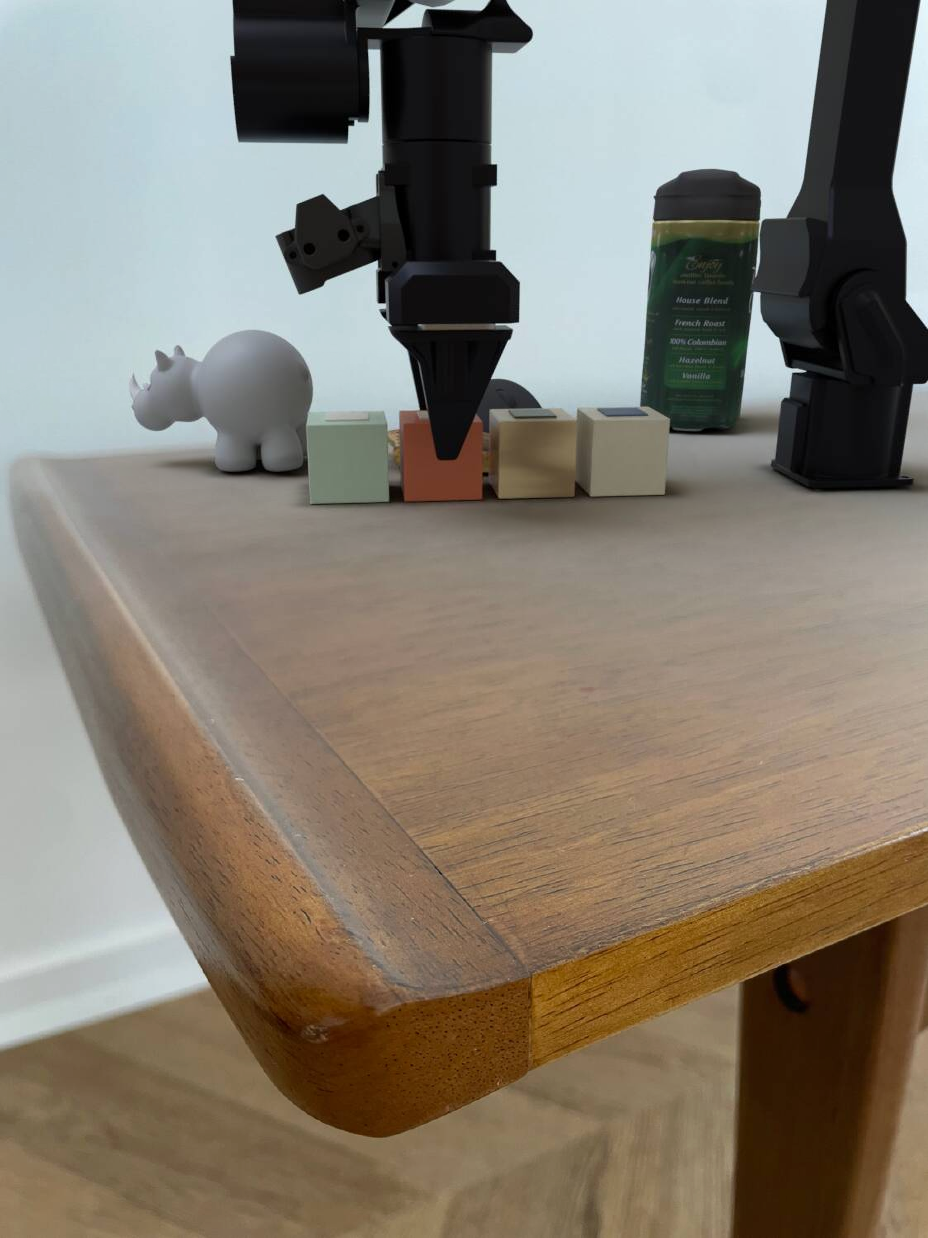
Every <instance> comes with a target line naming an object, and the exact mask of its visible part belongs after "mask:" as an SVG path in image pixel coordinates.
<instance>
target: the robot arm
mask: <svg viewBox="0 0 928 1238" xmlns="http://www.w3.org/2000/svg"><path fill="white" fill-rule="evenodd" d="M454 1H456V0H232V2H231V3H232V33H233V35H232V36H233V53H234V55H230V56H229V58H230V59H229V61H230V76H231V88H232V90H231V91H232V100H233V110H234V121H235V130H236V138H237V142H238V143H247V144H248V143H249V144H250V143H251V144H252V143H254V144H255V143H256V144H257V143H260V144H325V145H327V144H328V145H329V144H331V145H333V144H334V145H348V143H349V131H350V130H349V129H350V127H355V122H356V121H357V123H361V124H363V123H365V124H366V123H369V120H370V110H371V109H370V108H371V107H370V106H371V105H370V104H371V99H370V98H371V89H370V87H371V85H370V84H371V83H370V57H369V50H371V51H372V50H373V51H374V50H375V51H376V50H377V51H379V63H380V71H379V72H380V102H381V103H380V104H381V105H380V107H381V109H380V110H381V111H380V113H381V143H382V144H381V152H382V153H381V156H382V159H381V160H382V166H381V168H380V169H378V171H377V173H375V196H373V197H371V198H368V199H366V200H362V201H360V202H358V203H354V204H351V205H349V206H347V207H345V208H342V209H340V208H339V207H338V206H337V205H336V204H335V203H334V202H332V201H331V199H329V197H328V196H326V194H324V193H321V194H319V195H316V196H314V197H311V198H308V199H306V200H303V201H301V202H298V203H296V205H295V207H296V208H295V219H294V227H293V228H291V229H288V230H285V231H283V232H280V233H278V234H276V235H275V236H274V237H275V239H276V242H277V245H278V247H279V250H280V252H281V254H282V257H283V259H284V262H285V264H286V266H287V270H288V271H289V274H290V276H291V279H292V282H293V284H294V286H295V288H296V291H297V294H298V295H299V296H301V295H304V294H307V293H310V292H312V291H315V290H317V289H320V288H322V287H324V286H325V283H326V282H327V281H329V280H332V279H335V278H337V277H339V276H342V275H345V274H347V273H351V272H353V271H355V270H358V269H360V268H363V267H366V266H368V265H370V264H372V263H375V262H377V269H376V270H375V291H376V293H375V294H376V303H377V304H379V305H383V304H384V305H385V308H379V309H378V311H379V313H380V316H381V317H382V318H383V319H384V320H385V321H387V323H388V324H389V325H388V326H387V329H388V331H389V332H390V334H391V337H393V338H394V339H395V340H396V341H397V342H398V343H399V344H400V345H401V346H402V347H403V348H404V349H406V352H407V356H408V361H409V366H410V370H411V375H412V380H413V385H414V389H415V394H416V398H417V399H416V400H417V404H418V408H419V409H418V410H427V412H428V417H429V422H430V428H431V433H432V438H433V443H434V448H435V453H436V457H437V459H438V460H441V461H445V460H456V459H457V458H458V456H459V454H460V451H461V449H462V447H463V444H464V442H465V439H466V437H467V434H468V432H469V430H470V427H471V425H472V422H473V420H474V418H475V415H476V413H477V410H478V408H479V406H480V403H481V401H482V399H483V396H484V394H485V392H486V389H487V387H488V385H489V382H490V380H491V379H493V375H494V373H495V371H496V369H497V367H498V365H499V362H500V360H501V357H502V355H503V353H504V350H505V349H506V346H507V344H508V342H509V341H510V340H511V339H512V336H513V333H514V329H513V328H512V327H510V326H508V325H509V324H511V325H512V324H517V323H518V324H519V323H520V305H521V303H520V301H521V298H520V297H521V293H520V292H521V282H520V280H519V279H517V277H516V276H515V275H514V274H513V273H512V272H511V271H510V269H508V268H507V266H506V265H505V264H504V263H503V262H502V261H499V260H497V249H492V248H491V244H492V243H491V241H492V239H491V238H492V236H491V234H492V233H491V232H492V231H491V230H492V188H494V187H497V186H498V164H497V163H492V142H493V141H492V140H493V139H492V138H493V137H492V135H493V133H492V131H493V128H492V127H493V126H492V125H493V123H492V122H493V54H517V53H518V52H520V50H521V49H523V48H524V47H525V46H526V45H528V44H529V43H530V42H531V41H532V40H533V37H534V30H533V29H532V27H531V26H530V25H529V24H528V23H526V22H525V21H524V19H522V18H521V17H520V16H519V15H518V14H517V13H516V12H515V11H514V10H513V8H512V7H511V6H510V4H509V3H508V0H489V1H487V3H486V5H485V7H484V8H482V9H481V10H480V9H479V10H475V9H449V8H447V9H446V8H444V9H443V8H438V7H444V6H447V5H449V4H451V3H453V2H454ZM921 2H922V1H921V0H826V2H825V3H826V4H825V11H824V17H823V19H824V20H823V26H822V35H821V42H820V50H819V57H818V64H817V65H818V66H817V72H816V80H815V86H814V87H815V89H814V96H813V103H812V112H811V119H810V126H809V133H808V134H809V135H808V141H807V142H808V143H807V148H806V149H807V150H806V157H805V164H804V173H803V180H802V183H801V187H800V189H799V192H798V193H797V196H796V198H795V200H794V201H793V203H792V206H791V208H790V209H789V211H788V213H787V216H786V217H783V218H782V217H781V218H780V217H779V218H778V217H777V218H763V219H762V220H761V222H760V227H759V264H758V268H757V271H756V276H755V279H754V282H753V284H752V286H751V291H752V292H754V293H759V294H760V295H759V305H760V306H759V307H760V309H759V310H760V315H761V318H762V321H763V323H765V324H766V326H767V327H768V329H769V330H770V331H771V332H772V334H773V335H774V336H775V337H777V338H778V341H779V344H780V348H781V354H782V357H783V362H784V365H785V367H786V368H788V369H793V370H795V369H797V370H800V372H799V371H798V372H797V371H796V372H791V378H790V386H789V396H788V397H784V398H783V399H782V400H781V401H780V409H779V417H778V418H779V419H778V428H777V437H776V446H775V455H774V456H775V457H774V458H772V459H771V460H770V467H771V468H773V469H775V470H776V471H778V472H781V473H782V474H784V475H786V476H787V477H790V478H791V479H792V480H795V481H797V482H799V483H800V484H803V486H804V485H805V486H806V487H808V488H813V489H833V488H871V487H872V488H873V487H875V488H876V487H909V486H910V487H911V486H914V482H915V481H914V480H915V477H914V476H911V475H910V474H907V473H905V472H902V471H901V470H902V464H903V459H904V458H903V457H904V450H905V444H906V437H907V430H908V424H909V417H910V411H911V410H910V409H911V405H912V398H913V396H912V395H913V391H914V385H925V384H927V383H928V327H927V325H926V324H925V323H924V322H923V321H922V319H921V318H920V316H919V315H918V314H917V313H916V312H915V310H914V308H912V306H911V305H910V304H909V302H908V301H907V285H908V284H907V283H908V282H907V278H908V276H907V275H908V272H907V268H908V241H907V236H906V233H905V229H904V226H903V222H902V219H901V215H900V212H899V208H898V204H897V201H896V197H895V194H894V187H893V185H894V184H893V183H894V182H893V181H894V173H895V167H896V162H897V161H896V160H897V154H898V147H899V141H900V136H901V135H900V134H901V129H902V128H901V127H902V121H903V116H904V109H905V103H906V97H907V89H908V84H909V77H910V70H911V64H912V59H913V52H914V45H915V39H916V34H917V27H918V19H919V14H920V8H921ZM415 4H417V5H420V6H425V7H430V8H426V9H425V10H424V12H423V15H422V19H421V27H420V26H416V27H386V26H387V25H388V24H390V23H391V22H392V21H395V19H396V18H398V17H399V16H400V15H401V14H404V13H405V12H406V11H408V10H409V9H410V8H411V7H412V6H414V5H415Z"/></svg>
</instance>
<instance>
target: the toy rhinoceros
mask: <svg viewBox="0 0 928 1238" xmlns="http://www.w3.org/2000/svg"><path fill="white" fill-rule="evenodd" d="M154 356H155V361H156V366H155V367H154V369H152V371H151V373H150V375H149V383H148V382H146V381H143V382H142V387H143V389H142V388H141V386H140V385H139V384H138V382H137V379H136V377H135V373H134V372H132V373H131V375H130V377H129V381H128V391H129V396H130V397H131V399H132V404H131V409H132V410H133V415H134V417H135V419H136V422H137V423H138V424H139V425H140V426H142V427H143V428H144V429H146V430H148V431H151V432H152V431H153V432H162V431H165V430H167V429H168V428H170V427H172V425H173V424H174V423H176V422H178V423H179V422H180V423H194V422H197V421H198V420H199V421H200V419H201V418H205V419H206V420H207V421H208V423H209V424H210V425H211V427H212V428H213V429H214V430H215V431H216V433H217V434H216V435H217V436H216V441H215V444H214V463H215V466H216V468H217V469H219V470H220V471H223V472H230V473H231V472H232V473H236V472H237V473H238V472H239V473H240V472H246V471H250V470H253V469H254V468H256V466H257V461H259V460H261V463H262V466H263V468H264V469H265V470H266V471H269V472H277V473H278V472H289V471H293V470H298V469H299V468H302V466H303V464H304V458H306V457H308V451H307V432H306V424H307V418H308V413H309V412H310V410H311V407H312V404H313V399H314V383H313V377H312V375H311V374H312V373H311V371H310V368H309V366H308V364H307V362H306V360H305V358H304V356H303V355H302V354H301V353H300V351H299V350H298V349H297V348H296V347H295V346H294V345H293V344H292V343H290V342H289V341H288V340H287V339H285V338H283V337H282V336H279V335H277V334H275V333H273V332H270V331H266V330H261V329H244V330H239V331H235V332H232V333H229V334H228V335H226V336H224V337H222V338H221V339H219V340H217V342H215V343H214V344H213V345H212V346H211V347H210V349H209V350H208V351H207V352H206V353H205V355H204V357H203V358H202V361H200V360H196V359H195V358H193V357H189V356H186V354H185V351H184V349H183V348H182V346H180V345H179V344H176V345H175V346H174V347H173V356H168V355H167V354H166V353H165V352H163V351H161V350H159V349H156V350H155V351H154Z"/></svg>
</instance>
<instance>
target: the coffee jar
mask: <svg viewBox="0 0 928 1238" xmlns="http://www.w3.org/2000/svg"><path fill="white" fill-rule="evenodd" d="M761 198H762V191H761V188H760V187H759V186H758V185H757V184H755V183H753V182H752V181H749V180H748V179H746V178H744V177H742V176H741V175H740V174H739V173H738V172H737V171H734V170H728V169H720V168H700V169H692V170H686V171H682V172H680V173H679V174H678V175H677V176H676V177H675V178H672V179H671V180H669V181H667V182H665V183H663V184H661V185H660V186H659V187H658V188H657V189H656V191H655V195H653V199H654V205H653V206H654V207H653V213H652V220H653V221H652V227H651V240H650V253H649V255H650V256H649V269H648V284H647V295H646V296H647V298H646V299H647V300H646V312H645V313H646V314H645V315H646V317H645V330H644V331H645V334H644V335H645V336H644V347H643V360H642V370H641V372H642V373H641V384H640V398H639V399H640V401H639V407H650V408H651V409H653V410H655V411H657V412H659V413H660V414H662V415H664V416H666V417H667V418H669V419H670V427H669V428H672V430H674V431H678V432H679V431H681V432H701V431H703V430H705V429H719V430H725V429H730V428H732V427H734V426H735V425H736V424H737V423H738V421H739V419H740V417H741V412H742V411H741V410H742V403H743V393H744V386H745V375H746V366H747V365H746V364H747V356H748V347H749V338H750V330H751V323H752V322H751V321H752V314H753V306H754V305H753V303H754V293H755V292H752V291H751V286H752V284H753V282H754V279H755V277H756V275H757V264H758V253H759V252H758V251H759V239H760V237H759V235H760V227H761V222H760V220H761V207H762V199H761Z"/></svg>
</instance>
